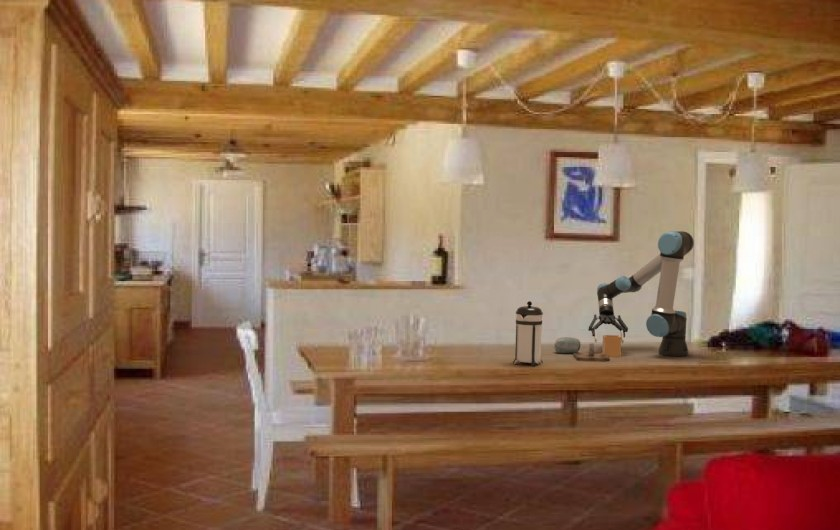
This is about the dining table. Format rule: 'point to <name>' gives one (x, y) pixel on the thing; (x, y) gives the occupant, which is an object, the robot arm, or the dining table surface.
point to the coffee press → (528, 334)
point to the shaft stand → (591, 355)
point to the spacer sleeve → (611, 345)
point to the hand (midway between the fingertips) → (609, 341)
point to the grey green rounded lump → (567, 345)
